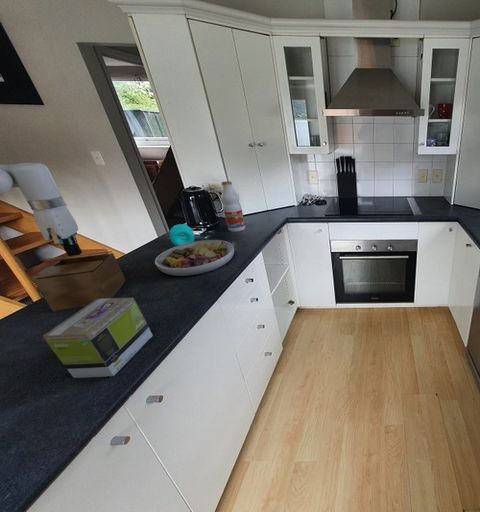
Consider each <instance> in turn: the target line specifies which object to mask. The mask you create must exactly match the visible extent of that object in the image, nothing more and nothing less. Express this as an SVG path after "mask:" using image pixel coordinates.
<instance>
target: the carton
mask: <svg viewBox="0 0 480 512" xmlns="http://www.w3.org/2000/svg"><path fill="white" fill-rule="evenodd" d="M83 262H84V263H83ZM95 268H96V269H95ZM94 269H95V270H94ZM93 270H94V271H93ZM88 271H93V272H88ZM122 271H123V270H122V269H121V267H120V265H119V263H118V261H117V258H116V256H115V254H114V252H110V253H101V254H93V255H84V256H76V257H67V258H60V259H59V260H58V261H56V263H54V264H53V265H51V266H46V267H45V268H43V269H42V270H40V271H39V272H38V273H36V274H35V275H34V276H32V277H31V279H32V281H33V283H34V285H35V286H36V288H37V289H38V291H39V292H40V294H41V295H42V297H43V298H44V300H45V302H46V303H47V305H48V306H49V308H50V309H51V311H52V312H58V311H64V310H70V309H75V308H81V307H82V308H83V307H86V306H87V305H88V304H90V303H91V302H93V301H94V300H96V299H97V298H98V299H106V298H114V296H116V294H117V292H118V291H119V290H120V289H121V287H122V286H123V285H124V283H125V282H126V281H127V280H126V278H125V276H124V273H123V272H122ZM81 272H87V273H81ZM79 273H80V274H79ZM47 295H48V296H47Z"/></svg>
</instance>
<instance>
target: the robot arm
mask: <svg viewBox="0 0 480 512" xmlns="http://www.w3.org/2000/svg"><path fill="white" fill-rule="evenodd" d="M15 188H19V190H20V191H21V193H22V195H23V197H24V198H25V200H26V202H27V203H28V206H29V207H30V209H31V211H32V214H33V217H34V220H35V222H36V226H37V227H38V229H39V232H40V233H41V235H42V237H43V239H44V241H47V242H49V241H53V243H54V245H55V246H57V245H60V246H61V247H62V248H63V249H64V251H65V253H66V256H75V255H82V253H83V250H82V249H81V247H80V246H79V244H78V239H77V237H76V236H77V234H78V231H79V226H78V224H77V222H76V219H75V217H74V216H73V215H72V213H71V212H70V210H69V208H68V207H67V203H66V201H65V199H64V197H63V195H62V194H61V191H60V190H59V188H58V186H57V184H56V182H55V180H54V178H53V176H52V174H51V172H50V169H49V168H48V167H47V165H45V164H44V163H41V162H22V163H15V164H14V163H13V164H3V163H2V164H0V195H3V194H6V193H7V192H9V190H11V189H15Z"/></svg>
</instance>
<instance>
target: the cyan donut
mask: <svg viewBox="0 0 480 512" xmlns="http://www.w3.org/2000/svg"><path fill="white" fill-rule="evenodd" d="M195 237H196V236H195V234H194V231H193V229H192V228H191V227H190V226H189V225H187V224H184V223H179V224H175V225H173V226H172V227H171V228H170V230H169V240H170V242H171V243H172V244H173V245H174V246H175V247H176V246H179V245H182V244H186V243H191V242H195V240H196V239H195Z"/></svg>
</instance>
